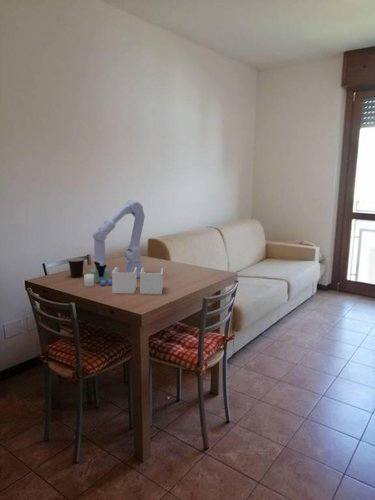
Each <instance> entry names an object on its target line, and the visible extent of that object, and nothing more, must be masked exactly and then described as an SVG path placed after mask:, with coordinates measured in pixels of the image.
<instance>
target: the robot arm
mask: <svg viewBox="0 0 375 500" xmlns="http://www.w3.org/2000/svg"><path fill="white" fill-rule="evenodd" d="M129 214H130V215H132V216H133V217H134V220H133V221H134V222H133V227H132V232H131V237H130V242H129V245H128V246H127V248H126V250H125V251H124V257H125V259H126V260H125V263H126V265H125V273H133V272H134V267H137V278H139V279H140V272H141V270H142V268H144V267H143V266H144V265H143V264H144V263H143V261H140V260H141V255H140V252H141V249H140V243H141V238H142V237H141V236H142V231H143V228H144V227H143V226H144V222H145V218H146V217H145V212H144V207H143V205H142V204H141V203H140V202H139V201H134V200H128V201H126V202H125V203H124V204H123V205H122V207H121V208H120V209H119V210H118V211H117V212H116V214H114V216H113V217H112V218H111V219H107V220H104V221H103V224H101V226H100V227H99V226H98V228H97V229H96V230H94V232H93V234H92V238H93V239H94V243H93V245H94V249H93V250H94V259H92V262H93V263H94V265H95V269H98V274H99V277H103V276H104V271H105V269H106V268H107V264H105V262H106V261H107V260H106V241H105V240H106V239H107V236H108V235H109V234H110V233H111V232H112V231H113V230H114V229H115V228H116V224H117V223H118V222H119V221H120V220H121V219H122V218H123V217H124V216H127V215H129Z"/></svg>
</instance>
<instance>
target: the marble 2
mask: <svg viewBox="0 0 375 500" xmlns="http://www.w3.org/2000/svg"><path fill="white" fill-rule="evenodd" d="M107 284H108V285H109V286H112V278H110V280H108V281H107Z"/></svg>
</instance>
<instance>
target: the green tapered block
mask: <svg viewBox="0 0 375 500" xmlns="http://www.w3.org/2000/svg"><path fill="white" fill-rule="evenodd" d="M89 271H90V272H89V273H90V274H94V283H100V282H101V281H102V280H105V281H106V282H108V280H110V279H111V275H110V274H111V271H110V269H109V268H108V267H106V268H105V271H104V276H103V277H99V274H98V269H96V268H95V269H94V268H92V269H90V270H89Z"/></svg>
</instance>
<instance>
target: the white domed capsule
mask: <svg viewBox="0 0 375 500" xmlns="http://www.w3.org/2000/svg"><path fill="white" fill-rule="evenodd" d="M83 279H84V281H83V283H84V287H85V288H90V287H91V288H92V287H94V286H95V282H94V274H90V272H89V273H85V274H83Z"/></svg>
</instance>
